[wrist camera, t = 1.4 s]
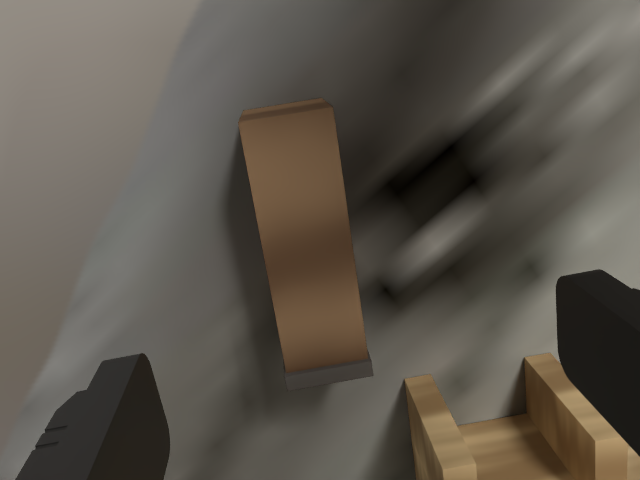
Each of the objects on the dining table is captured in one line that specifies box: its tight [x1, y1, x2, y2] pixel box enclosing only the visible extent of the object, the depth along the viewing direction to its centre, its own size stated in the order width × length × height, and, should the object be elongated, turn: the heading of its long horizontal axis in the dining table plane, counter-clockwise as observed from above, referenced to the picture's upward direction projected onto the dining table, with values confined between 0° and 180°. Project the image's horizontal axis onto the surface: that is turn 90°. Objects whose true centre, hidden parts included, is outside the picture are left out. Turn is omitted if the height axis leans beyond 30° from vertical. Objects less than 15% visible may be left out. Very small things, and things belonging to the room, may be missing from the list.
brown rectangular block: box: [238, 98, 373, 391], centre depth 29 cm, size 13×4×6 cm, turn 9°
